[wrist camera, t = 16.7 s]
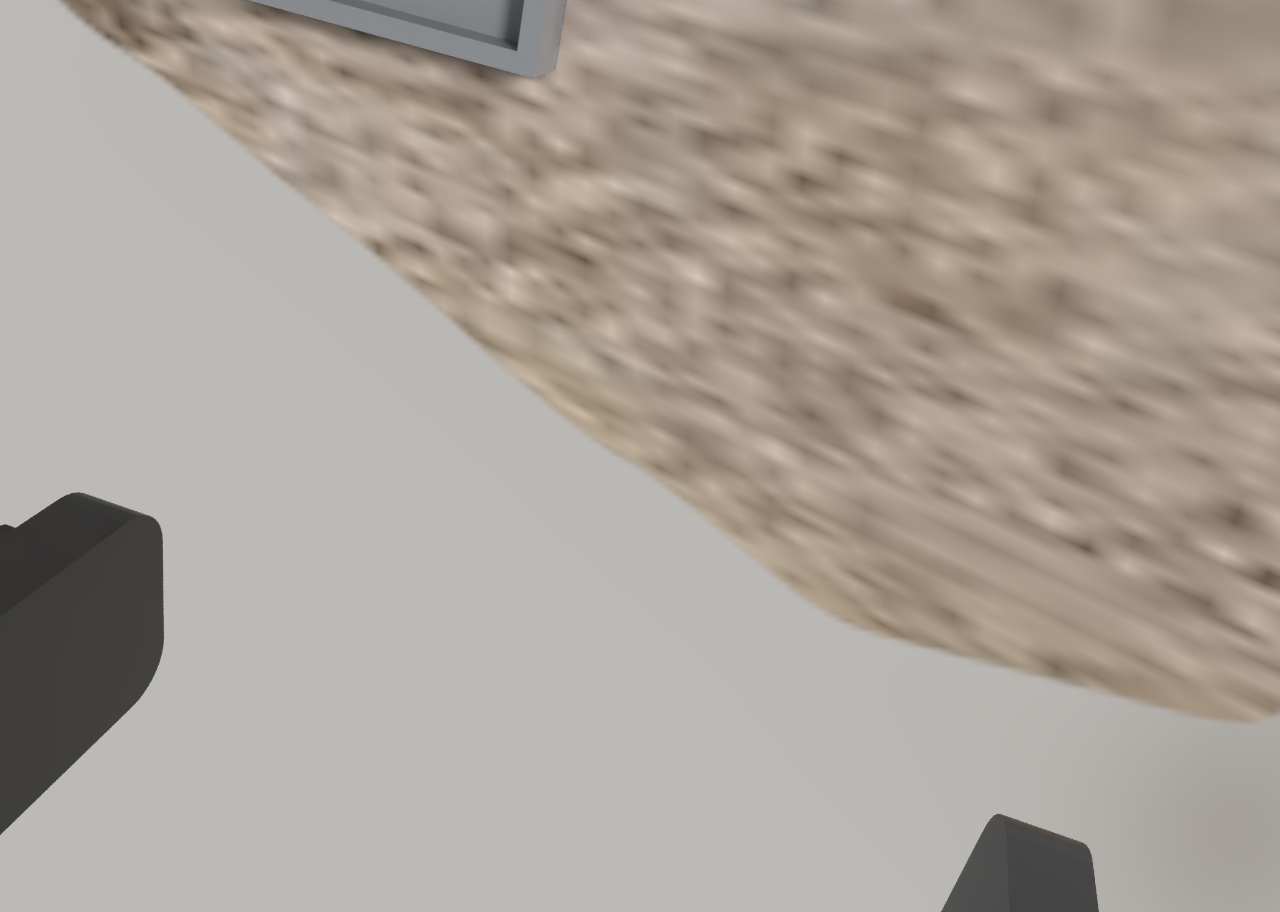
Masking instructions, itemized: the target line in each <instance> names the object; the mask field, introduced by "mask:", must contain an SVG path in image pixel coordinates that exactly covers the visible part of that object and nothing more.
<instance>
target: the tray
mask: <svg viewBox="0 0 1280 912" xmlns="http://www.w3.org/2000/svg"><path fill="white" fill-rule="evenodd" d="M249 1H253V2H256V3H260V4H264V5H267V6H271V7H275V8H278V9H282V10H286V11H289V12H293V13H297V14H300V15H304V16H307V17H311V18H315V19H318V20H322V21H326V22H329V23H333V24H337V25H340V26H344V27H347V28H351V29H355V30H358V31H362V32H366V33H369V34H373V35H377V36H380V37H384V38H388V39H391V40H395V41H398V42H402V43H406V44H409V45H413V46H417V47H420V48H424V49H428V50H431V51H435V52H438V53H442V54H446V55H449V56H453V57H457V58H460V59H464V60H468V61H471V62H475V63H479V64H482V65H486V66H489V67H493V68H497V69H500V70H504V71H508V72H511V73H515V74H519V75H522V76H526V77H529V78H533V79H534V78H536V77H539V76H541V75H543V74H546V73H548V72H550V71H553V70H555V68H556V62H557V56H558V50H559V44H560V37H561V31H562V25H563V19H564V12H565V6H566V0H249Z"/></svg>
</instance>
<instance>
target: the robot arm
mask: <svg viewBox="0 0 1280 912" xmlns="http://www.w3.org/2000/svg"><path fill="white" fill-rule="evenodd" d="M163 642H164V615H163V539H162V532H161V528H160V525H159V523H158V522H157V521H156V520H155V519H154V518H153V517H151V516H148V515H145V514H142V513H139V512H137V511H134V510H131V509H128V508H125V507H122V506H119V505H116V504H113V503H111V502H107V501H105V500H102V499H99V498H96V497H93V496H90V495H87V494H85V493H79V492H78V493H71V494H69V495H66V496H64V497H62V498H60V499H59V500H57V501H56V502H54V503H53V504H51V505H50V506H48V507H47V508H45V509H44V510H42V511H41V512H39V513H38V514H36V515H35V516H33V517H31V518H30V519H28V520H27V521H25V522H24V523H22V524H21V525H19V526H18V527H16V528H14V527H11V526H8V525H1V526H0V835H1V834H2V833H3V832H4V831H5V830H6V829H7V828H8V827H9V826H10V825H11V824H12V823H13V822H14V821H15V820H16V819H17V818H18V817H19V816H20V815H21V814H22V813H23V812H24V811H25V810H26V809H27V808H28V807H29V806H30V805H31V804H32V803H33V802H35V801H36V800H37V799H38V798H39V797H40V796H41V795H42V794H43V793H44V792H45V791H46V790H47V789H48V788H49V787H50V786H51V785H52V784H53V783H54V782H55V781H56V780H57V779H58V778H59V777H60V776H61V775H62V774H63V773H64V772H65V771H66V770H67V769H69V768H70V766H72V765H73V764H74V763H75V762H76V761H77V760H78V759H79V758H80V757H81V756H82V755H83V754H84V753H85V752H86V751H87V750H88V749H89V748H90V747H91V746H92V745H93V744H94V743H95V742H96V741H97V740H98V739H99V738H100V737H102V736H103V734H104V733H106V732H107V731H108V730H109V729H110V728H111V727H112V726H113V725H114V724H115V723H116V722H117V721H118V720H119V719H120V718H121V717H122V716H123V715H124V714H125V713H126V712H127V711H128V710H129V709H130V708H131V707H132V706H133V705H134V704H135V703H136V702H137V701H138V700H139V699H140V697H141V696H142V695H143V693H144V692H145V690H146V689H147V687H148V686H149V684H150V682H151V680H152V678H153V676H154V674H155V672H156V670H157V667H158V665H159V662H160V658H161V655H162V650H163ZM941 912H1099V910H1098V902H1097V894H1096V886H1095V877H1094V869H1093V862H1092V856H1091V853H1090V850H1089V848H1088V847H1087V845H1085V844H1084V843H1082V842H1079V841H1076V840H1073V839H1071V838H1067V837H1065V836H1062V835H1059V834H1056V833H1053V832H1050V831H1047V830H1045V829H1042V828H1039V827H1036V826H1033V825H1030V824H1027V823H1024V822H1021V821H1019V820H1016V819H1013V818H1010V817H1007V816H1004V815H1001V814H996V815H994V816H993V817H992V818H991V819H990V821H989V822H988V823H987V825H986V827H985V829H984V830H983V832H982V834H981V836H980V838H979V840H978V842H977V844H976V846H975V848H974V850H973V851H972V853H971V855H970V857H969V859H968V861H967V863H966V865H965V867H964V869H963V871H962V873H961V875H960V877H959V878H958V881H957V882H956V884H955V886H954V888H953V890H952V892H951V894H950V896H949V898H948V900H947V902H946V904H945V905H944V908H943V910H942V911H941Z"/></svg>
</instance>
